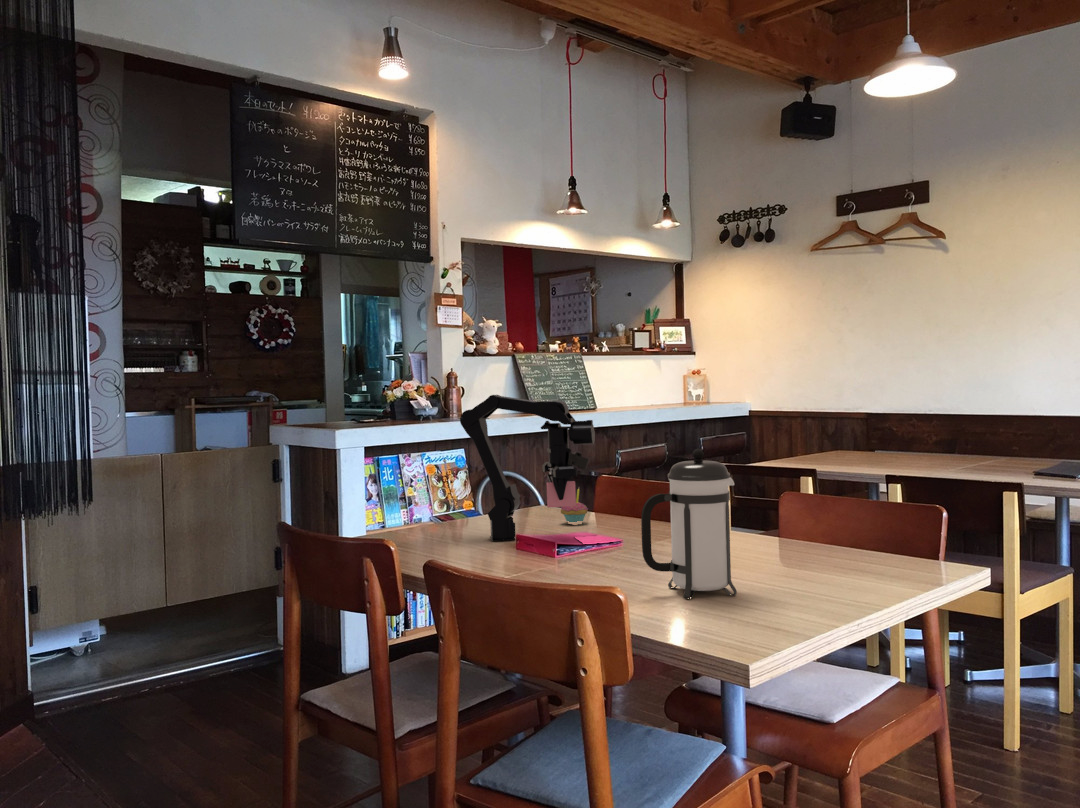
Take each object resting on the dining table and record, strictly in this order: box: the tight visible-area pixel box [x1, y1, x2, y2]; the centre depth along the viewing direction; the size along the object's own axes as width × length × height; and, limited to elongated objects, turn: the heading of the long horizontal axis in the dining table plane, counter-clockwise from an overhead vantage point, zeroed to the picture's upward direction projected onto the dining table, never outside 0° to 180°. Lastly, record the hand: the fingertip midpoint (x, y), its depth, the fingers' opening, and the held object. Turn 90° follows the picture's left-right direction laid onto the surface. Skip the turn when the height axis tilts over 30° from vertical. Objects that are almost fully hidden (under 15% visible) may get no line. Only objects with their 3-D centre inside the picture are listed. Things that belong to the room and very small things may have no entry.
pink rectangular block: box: [546, 480, 577, 509], centre depth 240 cm, size 8×2×7 cm, turn 101°
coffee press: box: [640, 448, 738, 600], centre depth 176 cm, size 17×16×30 cm
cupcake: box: [560, 487, 589, 522], centre depth 267 cm, size 9×8×12 cm
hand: (560, 499), depth 240 cm, fingers closed on pink rectangular block, 2 cm apart
